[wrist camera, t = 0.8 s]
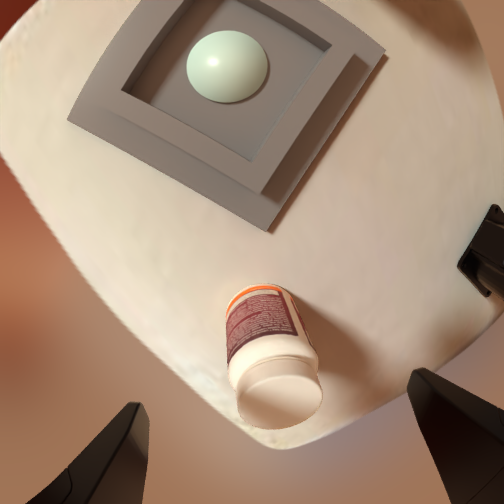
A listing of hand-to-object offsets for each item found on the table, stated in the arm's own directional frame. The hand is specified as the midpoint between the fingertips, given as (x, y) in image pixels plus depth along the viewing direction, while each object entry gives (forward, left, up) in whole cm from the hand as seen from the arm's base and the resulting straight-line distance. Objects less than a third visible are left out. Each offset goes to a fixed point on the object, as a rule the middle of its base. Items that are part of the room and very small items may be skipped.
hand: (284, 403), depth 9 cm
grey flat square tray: (+8, -9, -11) cm, 17 cm away
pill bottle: (-2, +3, -12) cm, 12 cm away
